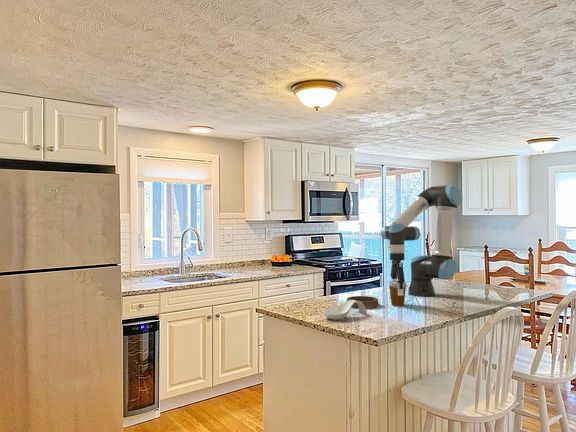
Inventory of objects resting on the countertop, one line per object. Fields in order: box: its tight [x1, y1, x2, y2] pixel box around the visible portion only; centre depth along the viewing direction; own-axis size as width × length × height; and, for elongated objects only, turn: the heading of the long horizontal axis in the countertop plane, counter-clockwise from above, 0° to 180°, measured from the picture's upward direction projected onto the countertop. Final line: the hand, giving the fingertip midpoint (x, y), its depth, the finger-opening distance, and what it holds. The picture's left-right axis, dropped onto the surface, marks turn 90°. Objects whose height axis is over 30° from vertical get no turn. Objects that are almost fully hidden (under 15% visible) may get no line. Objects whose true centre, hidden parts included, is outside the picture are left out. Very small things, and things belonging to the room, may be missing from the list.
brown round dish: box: [346, 295, 380, 310], centre depth 229 cm, size 17×17×4 cm
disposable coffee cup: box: [387, 280, 408, 307], centre depth 229 cm, size 10×10×12 cm
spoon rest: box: [322, 300, 367, 321], centre depth 204 cm, size 24×12×7 cm, turn 128°
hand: (397, 293), depth 229 cm, fingers open, 13 cm apart
